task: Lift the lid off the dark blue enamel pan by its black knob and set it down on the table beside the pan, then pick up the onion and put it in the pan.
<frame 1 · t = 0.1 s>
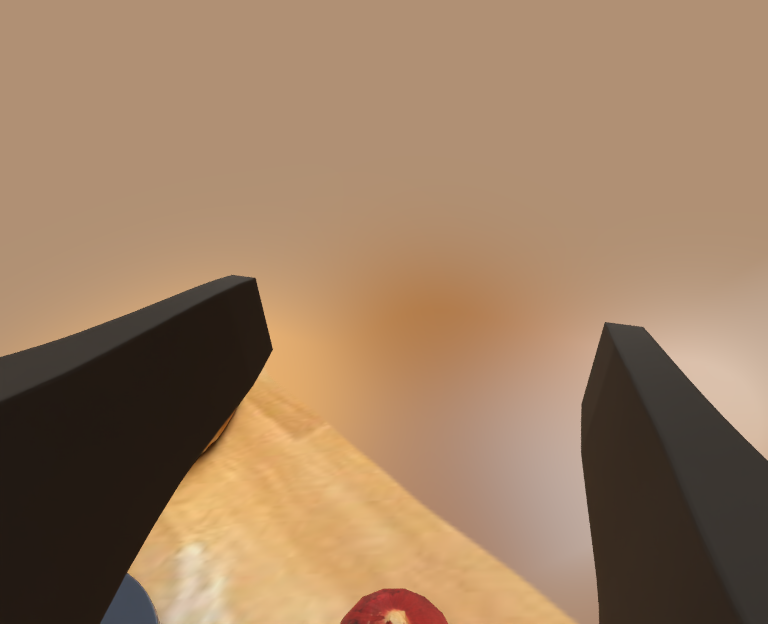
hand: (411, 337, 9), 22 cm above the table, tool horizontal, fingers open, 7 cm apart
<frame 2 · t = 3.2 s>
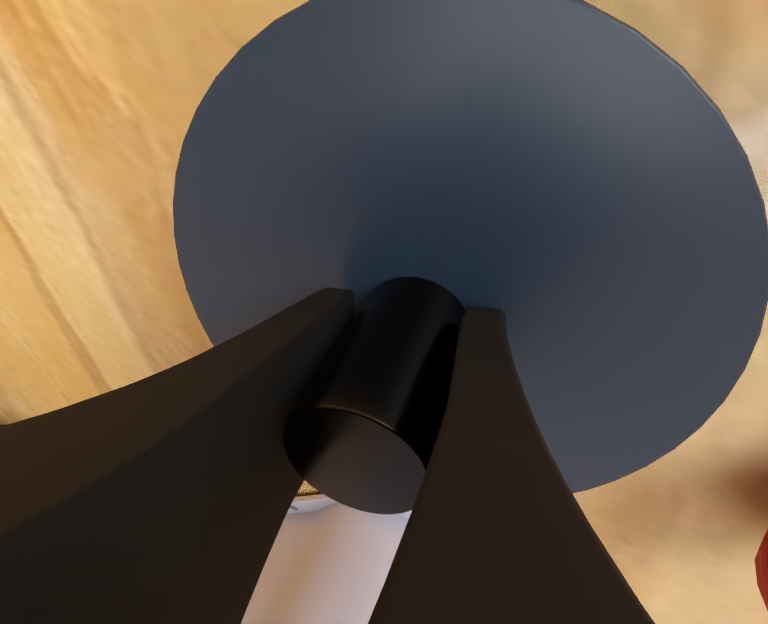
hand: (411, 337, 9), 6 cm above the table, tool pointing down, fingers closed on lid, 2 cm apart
lid: (421, 311, 10), point 5 cm above the table, touching gripper, pan
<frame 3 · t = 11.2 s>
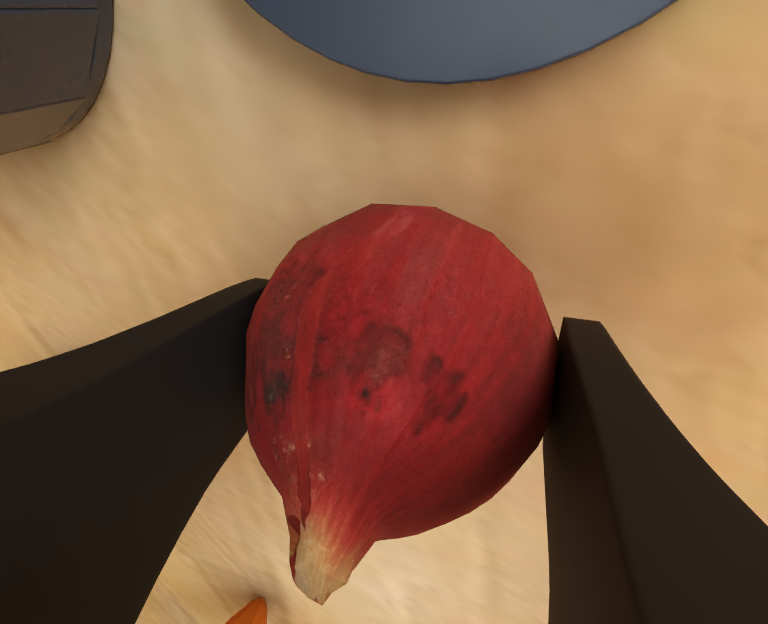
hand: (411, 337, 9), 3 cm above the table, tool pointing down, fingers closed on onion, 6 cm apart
onion: (440, 266, 12), on the table, touching gripper
carrot: (264, 594, 29), on the table
when the fingers open (3 cm above the table, at t = 16.3 s): onion stays where it is, resting on pan.
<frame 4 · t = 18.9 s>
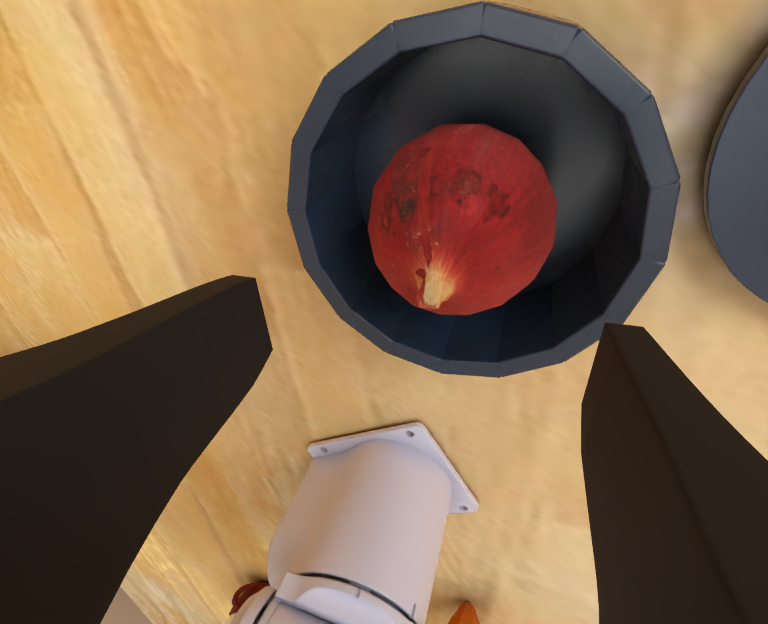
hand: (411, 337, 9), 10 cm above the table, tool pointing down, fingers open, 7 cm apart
pan: (478, 182, 17), on the table
onion: (476, 184, 17), resting on pan
carrot: (468, 599, 36), on the table
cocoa: (275, 590, 49), on the table
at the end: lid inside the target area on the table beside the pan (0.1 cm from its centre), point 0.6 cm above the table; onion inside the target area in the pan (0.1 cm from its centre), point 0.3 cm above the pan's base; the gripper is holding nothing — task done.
